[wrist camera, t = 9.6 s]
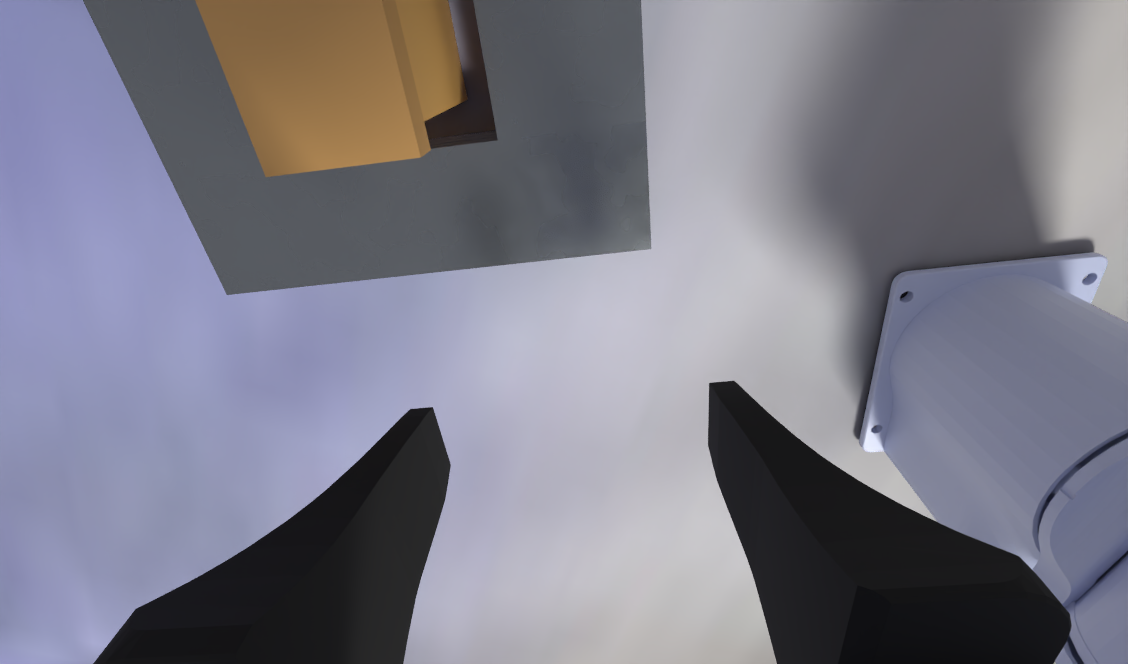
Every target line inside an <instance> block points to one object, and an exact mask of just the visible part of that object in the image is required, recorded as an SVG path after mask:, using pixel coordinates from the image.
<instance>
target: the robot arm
mask: <svg viewBox="0 0 1128 664" xmlns="http://www.w3.org/2000/svg"><path fill="white" fill-rule="evenodd" d="M1107 263H1108V260H1107V258H1106V257H1105V256H1103V255H1101V254H1098V253H1092V252H1091V253H1081V254H1071V255H1061V256H1051V257H1042V258H1032V259H1022V260H1012V261H1002V262H992V263H982V264H972V265H963V266H953V267H943V268H933V269H923V270H913V271H906V272H902V273H900V274H899V275H897V276H896V277H895V278H894V279H893V282H892V285H891V290H890V294H889V299H888V304H887V309H886V314H885V319H884V323H883V328H882V333H881V338H880V343H879V348H878V352H877V357H876V362H875V367H874V372H873V377H872V381H871V386H870V391H869V396H868V401H867V406H866V410H865V415H864V420H863V425H862V430H861V435H860V440H859V444H860V446H861V447H862V448H863V450H864V451H866V452H880V451H884V452H885V453H886V454H887V456H888V457H889V458H890V460H891V461H892V462H893V464H894V465H895V466H896V468H897V469H898V470H899V472H900V473H901V474H902V476H903V477H904V478H905V480H906V481H907V482H908V484H909V485H910V486H911V487H912V489H913V490H914V491H915V493H916V494H917V495H918V497H919V498H920V499H921V501H922V502H923V503H924V505H925V506H926V507H927V509H928V510H929V511H930V513H931V514H932V515H933V517H934V518H935V519H936V520H937V522H936V521H934V520H932V519H929V518H927V517H925V516H923V515H921V514H919V513H917V512H915V511H913V510H911V509H909V508H907V507H905V506H903V505H901V504H899V503H897V502H895V501H894V500H892V499H890V498H888V497H886V496H885V495H883V494H881V493H879V492H877V491H876V490H874V489H872V488H870V487H869V486H867V485H865V484H863V483H862V482H860V481H858V480H857V479H855V478H854V477H852V476H851V475H849V474H847V473H846V472H844V471H843V470H841V469H840V468H838V467H837V466H835V465H834V464H832V463H831V462H829V461H828V460H826V459H825V458H823V457H822V456H821V455H819V454H818V453H816V452H815V451H814V450H813V449H811V448H810V447H809V446H807V445H806V444H805V443H803V442H802V441H801V440H800V439H798V438H797V437H796V436H795V435H793V434H792V433H791V432H790V431H789V430H788V429H786V428H785V427H784V426H783V425H782V424H780V423H779V422H778V421H777V420H776V419H775V418H774V417H772V416H771V415H770V414H769V413H768V412H767V411H766V410H765V409H764V408H763V407H761V406H760V405H759V404H758V403H757V402H756V401H755V400H754V399H753V398H752V397H751V396H750V395H749V394H748V393H747V392H746V391H745V390H743V389H742V388H741V387H740V386H739V385H738V384H737V383H736V382H735V381H727V382H715V383H709V428H708V446H709V450H710V454H711V458H712V463H713V467H714V470H715V474H716V478H717V481H718V484H719V487H720V489H721V492H722V495H723V497H724V500H725V503H726V505H727V508H728V510H729V513H730V515H731V518H732V521H733V523H734V526H735V528H736V531H737V533H738V536H739V539H740V541H741V544H742V546H743V549H744V551H745V554H746V557H747V559H748V562H749V565H750V568H751V571H752V574H753V577H754V580H755V584H756V587H757V591H758V594H759V598H760V602H761V605H762V609H763V612H764V616H765V620H766V623H767V627H768V631H769V635H770V639H771V642H772V646H773V650H774V654H775V658H776V661H777V664H1053V663H1054V662H1056V664H1128V322H1126V321H1124V320H1122V319H1120V318H1118V317H1116V316H1114V315H1112V314H1110V313H1108V312H1106V311H1104V310H1102V309H1100V308H1098V307H1096V306H1094V305H1092V304H1091V303H1092V300H1093V298H1094V295H1095V293H1096V291H1097V288H1098V286H1099V284H1100V281H1101V279H1102V277H1103V274H1104V272H1105V269H1106V267H1107ZM1086 275H1088V276H1087V277H1086V278H1085V279H1083V278H1084V277H1085V276H1086ZM907 291H908V293H907V295H906V296H905V297H904V298H901V299H900V296H901V295H902V294H903V293H904V292H907ZM875 425H877V426H876V427H874V426H875ZM872 427H874V428H872ZM450 466H451V465H450V461H449V458H448V455H447V452H446V448H445V445H444V442H443V439H442V435H441V432H440V429H439V426H438V423H437V419H436V416H435V413H434V410H433V407H430V408H419V409H410V410H409V411H408V412H407V413H406V414H405V415H404V416H403V417H402V418H401V419H400V420H399V421H398V422H397V423H396V424H395V425H394V426H393V427H392V428H391V429H390V430H389V431H388V432H387V433H386V434H385V435H384V436H383V437H382V438H381V439H380V440H379V441H378V442H377V443H376V444H375V445H374V446H373V447H372V448H371V449H370V450H369V451H368V452H367V453H366V454H365V455H364V456H363V457H362V458H361V459H360V460H359V461H358V462H357V463H355V464H354V465H353V466H352V467H351V468H350V469H349V470H348V471H347V472H346V473H344V474H343V475H342V476H341V477H340V478H339V479H338V480H337V481H336V482H335V483H333V484H332V485H331V486H330V487H329V488H328V489H327V490H326V491H324V492H323V493H322V494H321V495H320V496H318V497H317V498H316V499H315V500H313V501H312V502H311V503H310V504H308V505H307V506H306V507H305V508H303V509H302V510H301V511H299V512H298V513H297V514H295V515H294V516H293V517H291V518H290V519H289V520H287V521H286V522H285V523H283V524H282V525H280V526H279V527H277V528H276V529H274V530H273V531H271V532H270V533H269V534H267V535H266V536H264V537H263V538H261V539H260V540H258V541H257V542H255V543H254V544H252V545H251V546H249V547H248V548H246V549H245V550H243V551H241V552H240V553H238V554H237V555H235V556H233V557H232V558H230V559H228V560H227V561H225V562H223V563H222V564H220V565H218V566H216V567H215V568H213V569H211V570H210V571H208V572H206V573H204V574H203V575H201V576H199V577H197V578H195V579H194V580H192V581H190V582H188V583H186V584H184V585H182V586H180V587H178V588H176V589H174V590H172V591H171V592H169V593H167V594H165V595H163V596H161V597H159V598H157V599H155V600H153V601H151V602H149V603H147V604H145V605H143V606H141V607H139V608H137V609H135V611H134V612H133V613H132V615H131V616H130V617H129V618H128V620H127V621H126V622H125V624H124V625H123V626H122V627H121V629H120V630H119V631H118V633H117V634H116V635H115V636H114V638H113V639H112V640H111V642H110V643H109V644H108V645H107V647H106V648H105V649H104V651H103V652H102V653H101V654H100V656H99V657H98V658H97V660H96V661H95V662H94V663H93V664H403V661H404V656H405V650H406V645H407V639H408V634H409V629H410V624H411V619H412V614H413V609H414V604H415V599H416V595H417V591H418V587H419V583H420V580H421V576H422V573H423V570H424V567H425V563H426V560H427V557H428V554H429V551H430V547H431V544H432V541H433V538H434V535H435V531H436V528H437V525H438V522H439V518H440V515H441V512H442V508H443V505H444V501H445V497H446V491H447V485H448V479H449V472H450Z"/></svg>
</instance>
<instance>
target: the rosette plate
mask: <svg viewBox="0 0 1128 664" xmlns="http://www.w3.org/2000/svg"><path fill="white" fill-rule="evenodd" d="M83 1H84V3H85V6H86V8H87V10H88V12H89V14H90V16H91V18H92V20H93V22H94V24H95V26H96V28H97V30H98V32H99V34H100V36H101V38H102V40H103V42H104V44H105V46H106V48H107V50H108V53H109V55H110V57H111V59H112V61H113V63H114V65H115V67H116V69H117V71H118V73H119V75H120V77H121V79H122V81H123V83H124V85H125V87H126V89H127V91H128V93H129V95H130V97H131V100H132V102H133V104H134V106H135V108H136V110H137V112H138V114H139V116H140V118H141V120H142V122H143V124H144V126H145V128H146V130H147V132H148V134H149V136H150V138H151V140H152V142H153V144H154V147H155V149H156V151H157V153H158V155H159V157H160V159H161V161H162V163H163V165H164V167H165V169H166V171H167V173H168V175H169V177H170V179H171V181H172V183H173V185H174V187H175V189H176V191H177V194H178V196H179V198H180V200H181V202H182V204H183V206H184V208H185V210H186V212H187V214H188V216H189V218H190V220H191V222H192V224H193V226H194V228H195V230H196V232H197V234H198V236H199V238H200V241H201V243H202V245H203V247H204V249H205V251H206V253H207V255H208V257H209V259H210V261H211V263H212V265H213V267H214V269H215V271H216V273H217V275H218V277H219V279H220V281H221V283H222V285H223V288H224V290H225V292H226V294H227V295H231V294H240V293H249V292H258V291H267V290H277V289H286V288H295V287H304V286H314V285H323V284H332V283H341V282H350V281H360V280H369V279H378V278H387V277H397V276H406V275H415V274H424V273H433V272H443V271H452V270H461V269H470V268H479V267H489V266H498V265H507V264H516V263H526V262H535V261H544V260H553V259H562V258H572V257H581V256H590V255H599V254H609V253H618V252H627V251H636V250H645V249H651V232H650V208H649V184H648V160H647V136H646V112H645V88H644V64H643V40H642V16H641V0H473V3H474V8H475V14H476V20H477V25H478V31H479V37H480V42H481V48H482V54H483V59H484V65H485V71H486V76H487V82H488V88H489V93H490V99H491V105H492V110H493V116H494V122H495V127H496V131H488V132H480V133H472V134H465V135H457V136H449V137H441V138H434V139H428V140H429V144H430V148H431V151H429V152H428V153H426V154H425V155H424V156H422V157H421V158H414V159H406V160H398V161H390V162H382V163H374V164H366V165H358V166H351V167H343V168H335V169H327V170H319V171H311V172H303V173H295V174H287V175H280V176H272V177H265V174H264V172H263V169H262V167H261V164H260V162H259V159H258V157H257V154H256V152H255V149H254V147H253V144H252V142H251V139H250V137H249V134H248V132H247V129H246V127H245V124H244V122H243V119H242V117H241V114H240V112H239V109H238V107H237V104H236V101H235V99H234V96H233V94H232V91H231V89H230V86H229V84H228V81H227V79H226V76H225V74H224V71H223V69H222V66H221V64H220V61H219V59H218V56H217V54H216V51H215V49H214V46H213V44H212V41H211V39H210V36H209V34H208V31H207V29H206V26H205V24H204V21H203V19H202V16H201V14H200V11H199V9H198V6H197V4H196V1H195V0H83Z"/></svg>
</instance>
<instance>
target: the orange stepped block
mask: <svg viewBox="0 0 1128 664" xmlns="http://www.w3.org/2000/svg"><path fill="white" fill-rule="evenodd" d="M195 1H196V4H197V6H198V9H199V11H200V14H201V16H202V19H203V21H204V24H205V26H206V29H207V31H208V34H209V36H210V39H211V41H212V44H213V46H214V49H215V51H216V54H217V56H218V59H219V61H220V64H221V66H222V69H223V71H224V74H225V76H226V79H227V81H228V84H229V86H230V89H231V91H232V94H233V96H234V99H235V101H236V104H237V107H238V109H239V112H240V114H241V117H242V119H243V122H244V124H245V127H246V129H247V132H248V134H249V137H250V139H251V142H252V144H253V147H254V149H255V152H256V154H257V157H258V159H259V162H260V164H261V167H262V169H263V172H264V174H265V177H272V176H280V175H287V174H295V173H303V172H311V171H319V170H327V169H335V168H343V167H351V166H358V165H366V164H374V163H382V162H390V161H398V160H406V159H414V158H421V157H422V156H424V155H425V154H426V153H428V152H429V151H431V148H430V144H429V140H428V136H427V131H426V127H425V123H424V121H426V120H428V119H430V118H432V117H434V116H436V115H438V114H440V113H442V112H444V111H446V110H448V109H450V108H452V107H454V106H456V105H458V104H460V103H462V102H464V101H466V100H468V99H467V94H466V88H465V83H464V78H463V73H462V68H461V63H460V58H459V53H458V48H457V43H456V38H455V33H454V27H453V22H452V17H451V12H450V7H449V2H448V0H195Z"/></svg>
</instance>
